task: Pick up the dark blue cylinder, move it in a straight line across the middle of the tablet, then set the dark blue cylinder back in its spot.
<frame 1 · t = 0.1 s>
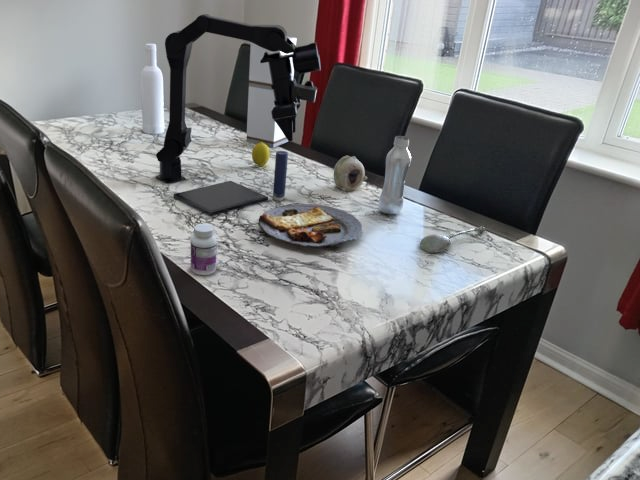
hand: (292, 136, 157), 15 cm above the table, tool pointing down, fingers open, 9 cm apart
white tower box: (267, 142, 209), on the table
dark blue cylinder: (278, 199, 158), on the table
pill bottle: (203, 270, 120), on the table
lemon: (260, 167, 183), on the table
tablet: (221, 198, 156), on the table
bottle: (153, 132, 213), on the table
soupspoon: (454, 242, 140), on the table
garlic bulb: (348, 188, 170), on the table
food plate: (308, 231, 140), on the table
plastic bottle: (388, 213, 154), on the table
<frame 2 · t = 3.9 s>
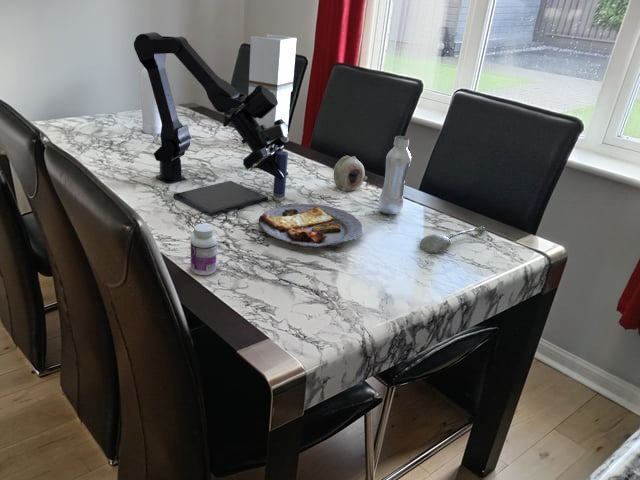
hand: (285, 177, 155), 7 cm above the table, tool tilted 45°, fingers closed on dark blue cylinder, 3 cm apart
dark blue cylinder: (278, 199, 158), on the table, touching gripper
everything else where it was.
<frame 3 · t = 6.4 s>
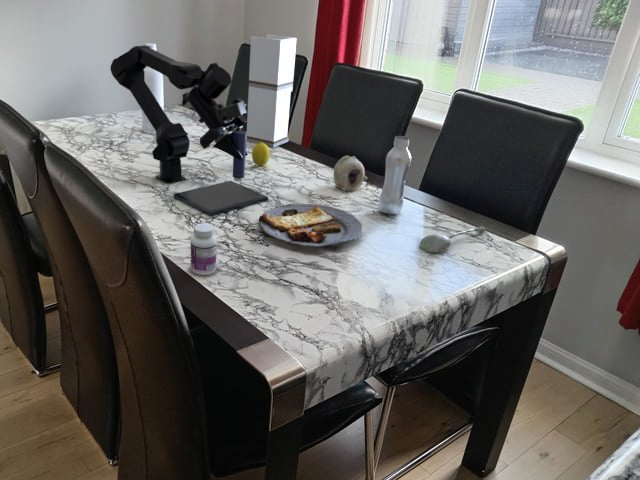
hand: (244, 157, 152), 11 cm above the table, tool tilted 45°, fingers closed on dark blue cylinder, 3 cm apart
dark blue cylinder: (238, 180, 156), point 5 cm above the table, touching gripper
everything else where it was.
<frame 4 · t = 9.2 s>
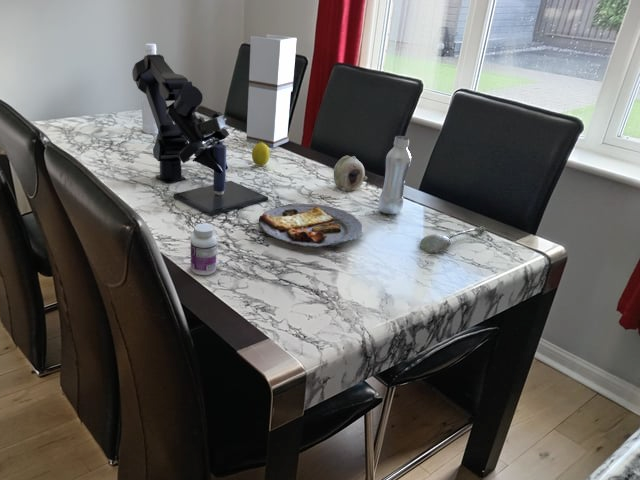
hand: (224, 170, 153), 8 cm above the table, tool tilted 45°, fingers closed on dark blue cylinder, 3 cm apart
dark blue cylinder: (219, 193, 156), point 1 cm above the table, touching gripper
everything else where it was.
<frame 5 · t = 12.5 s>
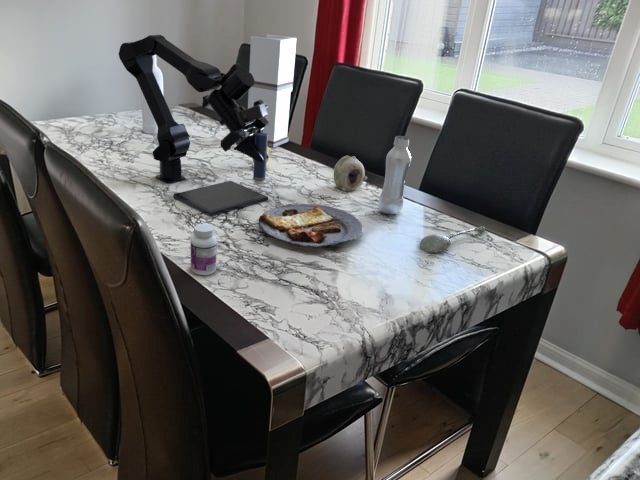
hand: (265, 159, 150), 12 cm above the table, tool tilted 45°, fingers closed on dark blue cylinder, 3 cm apart
dark blue cylinder: (258, 183, 154), point 5 cm above the table, touching gripper
everything else where it was.
when the fingers open (7 cm above the table, at t = 15.0 s): dark blue cylinder stays where it is, on the table.
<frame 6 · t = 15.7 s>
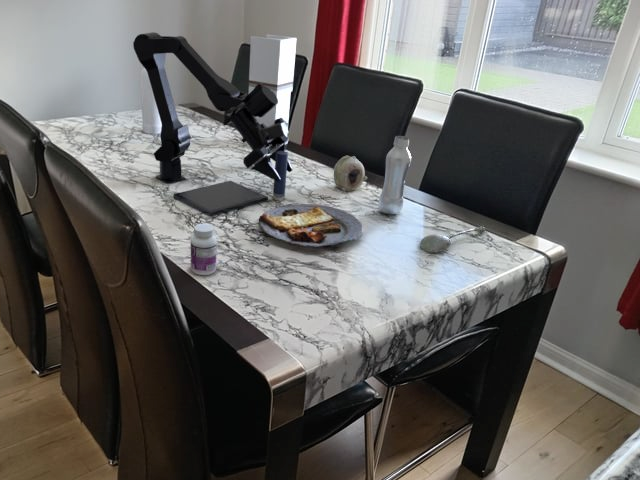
hand: (285, 175, 154), 7 cm above the table, tool tilted 45°, fingers open, 9 cm apart
dark blue cylinder: (278, 199, 158), on the table
everything else where it was.
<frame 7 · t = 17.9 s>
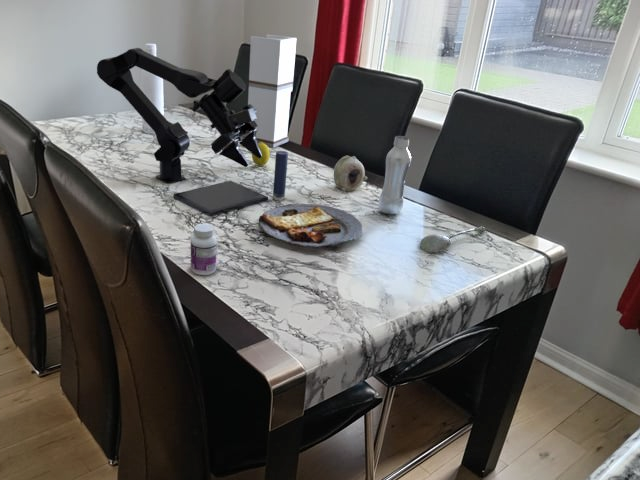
hand: (254, 161, 156), 9 cm above the table, tool tilted 45°, fingers open, 9 cm apart
nothing on the table moved.
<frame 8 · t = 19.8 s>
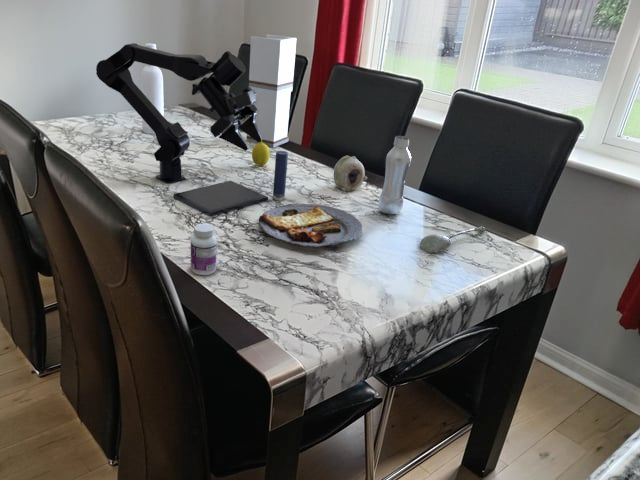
hand: (254, 145, 154), 14 cm above the table, tool tilted 45°, fingers open, 9 cm apart
nothing on the table moved.
at the end: dark blue cylinder tilted 0°; dark blue cylinder inside the target area (0.0 cm from its centre), on the table; the gripper is holding nothing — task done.
